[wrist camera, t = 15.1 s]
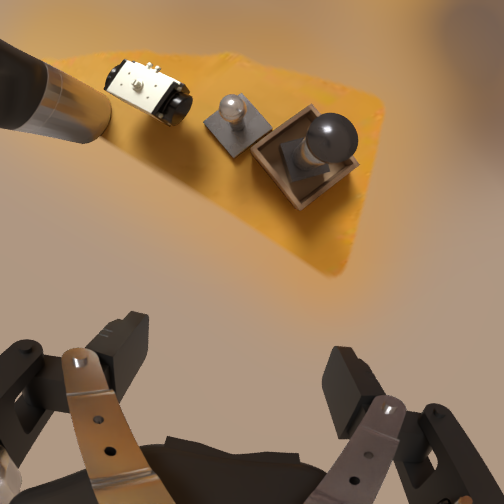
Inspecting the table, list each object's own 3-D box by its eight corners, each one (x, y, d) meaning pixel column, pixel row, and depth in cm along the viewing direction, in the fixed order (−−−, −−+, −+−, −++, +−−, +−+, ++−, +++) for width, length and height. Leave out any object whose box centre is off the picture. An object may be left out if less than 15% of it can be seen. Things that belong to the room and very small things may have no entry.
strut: (277, 148, 39) (293, 114, 21) (312, 139, 39) (351, 102, 21) (289, 183, 40) (313, 175, 22) (323, 173, 39) (371, 160, 22)
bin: (251, 153, 40) (250, 148, 35) (305, 113, 39) (311, 103, 34) (295, 208, 42) (300, 210, 37) (348, 167, 40) (359, 164, 35)
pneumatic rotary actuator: (186, 137, 40) (161, 118, 28) (129, 105, 39) (91, 83, 27) (207, 107, 39) (189, 78, 27) (148, 77, 38) (117, 47, 26)
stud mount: (204, 123, 39) (187, 103, 29) (242, 95, 38) (237, 66, 28) (233, 158, 40) (225, 147, 30) (272, 129, 39) (276, 109, 29)
